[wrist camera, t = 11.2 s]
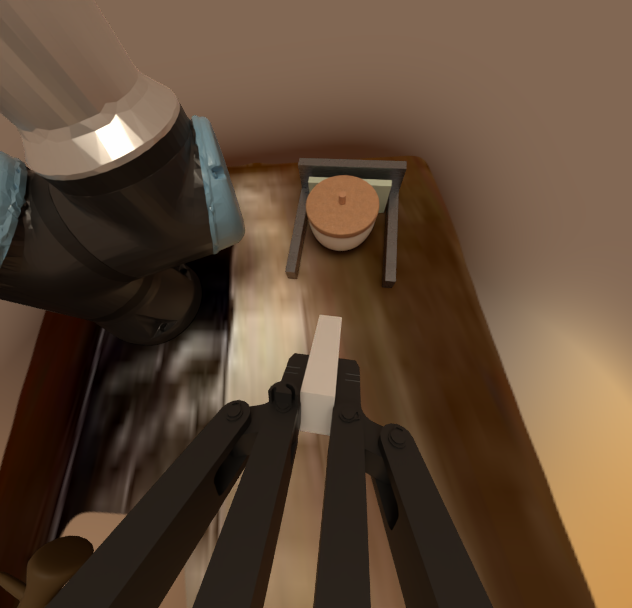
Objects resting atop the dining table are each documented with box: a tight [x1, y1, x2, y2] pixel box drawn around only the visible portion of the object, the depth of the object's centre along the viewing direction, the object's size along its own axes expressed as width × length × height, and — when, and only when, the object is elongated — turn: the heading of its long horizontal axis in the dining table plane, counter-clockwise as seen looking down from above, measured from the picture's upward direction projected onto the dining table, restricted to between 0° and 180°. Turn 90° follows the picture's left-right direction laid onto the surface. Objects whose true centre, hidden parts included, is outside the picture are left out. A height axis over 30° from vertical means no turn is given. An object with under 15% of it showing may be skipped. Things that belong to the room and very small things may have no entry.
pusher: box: [308, 177, 392, 213], centre depth 39 cm, size 13×1×6 cm, turn 82°
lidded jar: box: [306, 175, 379, 251], centre depth 36 cm, size 11×11×9 cm
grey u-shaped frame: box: [285, 158, 406, 288], centre depth 37 cm, size 17×18×7 cm
